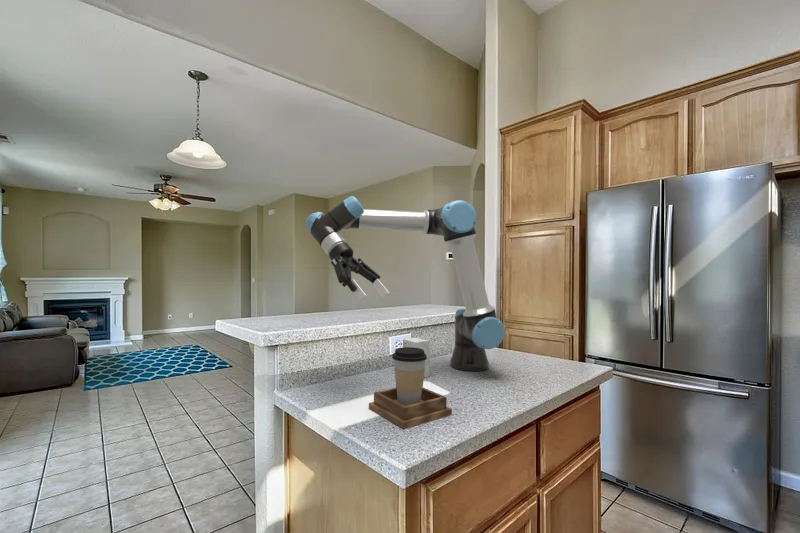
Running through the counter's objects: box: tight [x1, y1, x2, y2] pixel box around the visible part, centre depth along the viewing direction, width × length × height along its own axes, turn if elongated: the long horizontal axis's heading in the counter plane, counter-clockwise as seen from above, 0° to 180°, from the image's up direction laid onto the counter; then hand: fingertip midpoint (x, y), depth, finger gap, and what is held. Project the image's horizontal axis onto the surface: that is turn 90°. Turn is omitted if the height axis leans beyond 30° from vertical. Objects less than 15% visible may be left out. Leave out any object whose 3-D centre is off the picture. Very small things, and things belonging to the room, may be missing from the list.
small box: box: [402, 337, 430, 378], centre depth 134 cm, size 8×6×13 cm
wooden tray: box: [368, 387, 453, 430], centre depth 99 cm, size 16×16×4 cm
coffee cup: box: [391, 347, 427, 406], centre depth 99 cm, size 9×9×15 cm
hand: (375, 297), depth 114 cm, fingers open, 13 cm apart
